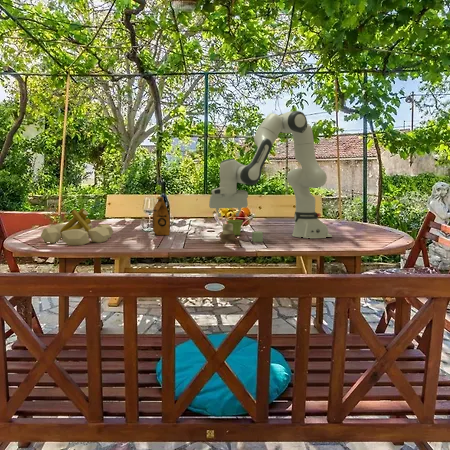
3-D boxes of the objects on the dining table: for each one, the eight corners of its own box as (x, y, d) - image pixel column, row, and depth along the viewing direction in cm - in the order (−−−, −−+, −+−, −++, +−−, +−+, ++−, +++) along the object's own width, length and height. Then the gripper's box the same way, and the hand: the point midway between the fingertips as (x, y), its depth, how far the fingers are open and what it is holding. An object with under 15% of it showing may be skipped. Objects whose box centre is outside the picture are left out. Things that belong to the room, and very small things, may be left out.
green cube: (261, 240, 221) (261, 231, 220) (262, 241, 216) (262, 232, 215) (252, 240, 220) (252, 231, 220) (253, 241, 215) (253, 232, 215)
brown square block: (233, 240, 220) (233, 232, 220) (234, 242, 214) (234, 234, 213) (220, 240, 220) (220, 232, 219) (221, 242, 213) (221, 234, 213)
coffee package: (153, 236, 233) (153, 197, 230) (152, 232, 245) (151, 196, 242) (171, 235, 235) (170, 197, 232) (168, 232, 247) (168, 196, 244)
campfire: (124, 237, 227) (123, 207, 225) (88, 247, 195) (87, 212, 193) (70, 234, 237) (69, 205, 235) (27, 244, 204) (25, 210, 202)
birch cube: (232, 232, 219) (232, 223, 218) (232, 234, 214) (233, 224, 213) (222, 232, 219) (222, 223, 218) (223, 234, 214) (223, 224, 213)
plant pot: (223, 235, 237) (224, 220, 236) (231, 233, 245) (231, 219, 244) (238, 236, 233) (238, 221, 232) (245, 234, 241) (245, 220, 240)
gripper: (247, 189, 217) (247, 215, 219) (208, 190, 216) (209, 216, 218) (248, 190, 211) (248, 216, 213) (209, 190, 210) (209, 217, 212)
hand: (228, 216), depth 215 cm, fingers open, 8 cm apart
